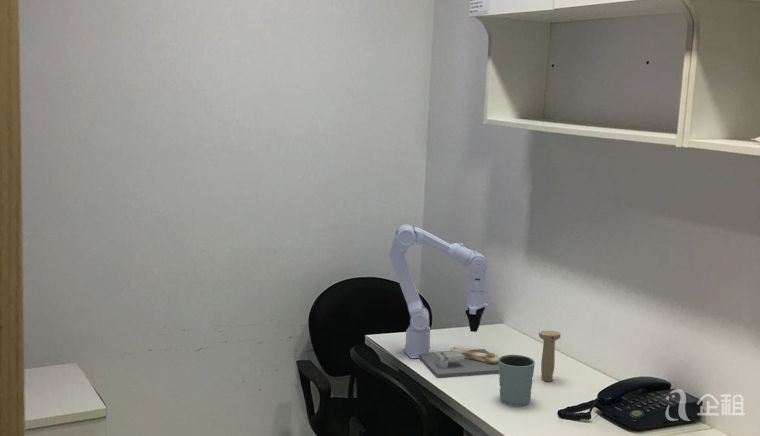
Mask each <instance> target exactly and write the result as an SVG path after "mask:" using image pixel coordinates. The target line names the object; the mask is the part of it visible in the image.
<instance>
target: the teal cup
mask: <svg viewBox="0 0 760 436" xmlns="http://www.w3.org/2000/svg"><path fill="white" fill-rule="evenodd" d="M498 363H499V374H498V376H499V378H498V379H499V400H500V401H501V403H503V404H504V405H509V406H513V407H524V406H527V405H529V404H530V402H531V396H532V388H533V377H534V371H535V363H536V362H535V360H534V359H533V358H531V357H529V356H527V355H526V356H525V355H521V354H505V355H501V356H499V360H498Z"/></svg>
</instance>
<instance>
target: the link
mask: <svg viewBox="0 0 760 436" xmlns="http://www.w3.org/2000/svg"><path fill="white" fill-rule="evenodd" d="M470 350H471V349H464V348H459V347H453V348H451V349H450V350H449V351H450V352H452V351H459V352H461V353H462V354H463V355H464V356H465V358H469V359H474V360H478V361H483V362H486V363H489V364H497V363H498V360H499V358H500V356H499V355H498V354H495V353H493V352H491V353H490V352H489V353H490V354H485V353H480V352H475V351H470Z"/></svg>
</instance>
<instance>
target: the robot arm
mask: <svg viewBox="0 0 760 436" xmlns="http://www.w3.org/2000/svg"><path fill="white" fill-rule="evenodd" d="M414 243H415V244H416V245H417V246H419V245H425V244H426V245H427V246H430V247H432V248H434V249H437V250H439V251H441V252H443V253H446V255H447V258H448V259H449V260H451V261H453V262H456V263H457V264H459V265H461V266H463V267H466V268H467V267H468V268H469V271H468V272H469V273H468V277H467V296H466V297H467V300H466V304H465V305H466V306H467V309H466V310H465V315H466V317H467V321H468V323H469V329H470V331H469V332H472V333H473V332H474V333H477V332H478V331H479V328H480V324H481V321H482V316H483V314H484V311H485V310H486V307H488V306H489V303H486V302H485V301H486V300H485V299H486V284H487V283H486V279H487V277H486V275H487V274H486V273H487V272H486V270H488V263H487V259H486V257H485V256H484V255H483V254H482V253H481V252H478V251H476V249H475V250H474V249H473V250H472V249H469V248H467V247H466V246H464V244H463V243H462V242H459V243H458V242H455V243H449V242H447V241H445V240H443V239H441V238H440V237H439V236H438V237H437V236H436V235H434V234H432V233H431V232H428V231H427V230H424V229H422V228H420V227H418V226H413V225H412V224H410V223H403V224H402V225H400V226H398V229H397V230H396V231H395V233H394V235H393V239H392V244H391V248H390V250H389V259H390V262H391V265H392V267H393V269H394V272H395V275H396V277H397V280H398V283H399V286H400V289H401V291H402V294H403V297H404V300H405V301H406V305H407V310H408V313H409V316H410V320H409V323H410V324H409V325H408V328H407V329H406V331H405V347H403V348H402V350H403V352H404V353H405V354H406V355H407V356H408V357H409V358H410V359H419V355H422V354H427V353H429V352H430V346H431V345H430V343H431V327H430V312H429V310H428V308H427V307H425V305H424V304H423V301H422V299H421V297H420V294H419V292H418V290H417V287H416V286H417V285H416V284H415V281H414V279H413V276H412V272H411V270H410V267H409V266H408V265H409V264H408V262H407V260H406V257H405V256H406V254H407V252H408V250H409V249H410V248H411V247H412V246H413V245H414Z"/></svg>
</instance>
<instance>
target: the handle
mask: <svg viewBox="0 0 760 436" xmlns="http://www.w3.org/2000/svg"><path fill="white" fill-rule="evenodd" d="M538 336H539V338H540V339H541V340H543V346H542V354H541V364H540V365H541V366H540V367H541V368H540V370H541V371H540V372H541V380H542V381H543V382H552V381H553V378H554V376H553V375H554V373H555V362H556V361H555V360H556V359H555V356H556V355H555V351H556V350H555V349H556V348H555V344H556V341H557V340H559V339H561V336H562V335H561V333H560V332H558V331H555V330H541V331H539V333H538Z"/></svg>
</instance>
